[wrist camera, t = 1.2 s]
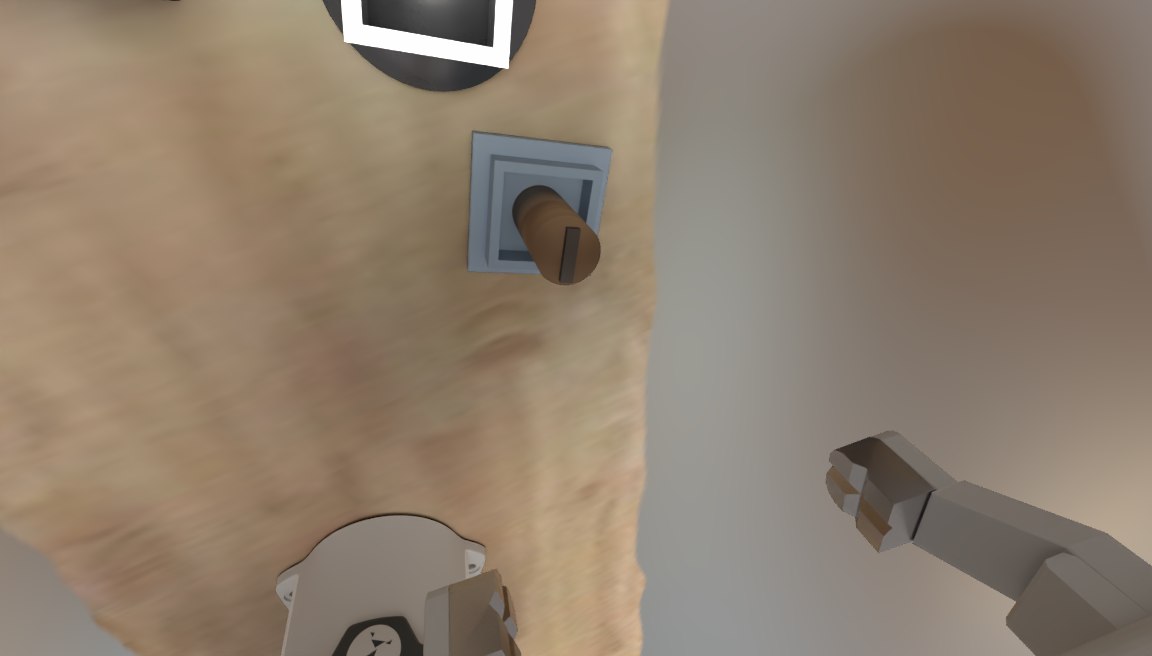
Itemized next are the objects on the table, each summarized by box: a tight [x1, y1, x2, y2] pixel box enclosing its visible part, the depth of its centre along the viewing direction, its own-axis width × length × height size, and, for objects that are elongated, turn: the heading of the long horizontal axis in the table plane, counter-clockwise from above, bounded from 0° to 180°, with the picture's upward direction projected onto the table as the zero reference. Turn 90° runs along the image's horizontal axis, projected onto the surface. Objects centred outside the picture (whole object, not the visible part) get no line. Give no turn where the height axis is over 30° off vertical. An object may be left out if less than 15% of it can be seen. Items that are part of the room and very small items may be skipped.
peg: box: [512, 185, 601, 285], centre depth 28 cm, size 4×4×8 cm
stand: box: [467, 131, 612, 276], centre depth 31 cm, size 9×9×3 cm
